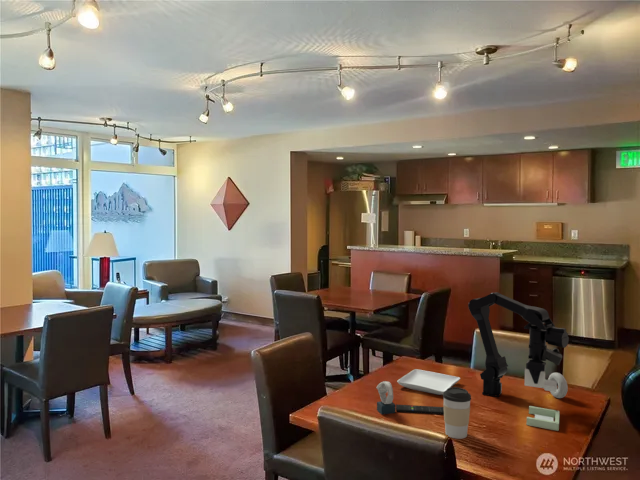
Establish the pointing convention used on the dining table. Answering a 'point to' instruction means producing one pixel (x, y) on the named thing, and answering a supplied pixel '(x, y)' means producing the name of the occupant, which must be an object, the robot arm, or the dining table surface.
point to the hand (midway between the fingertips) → (536, 382)
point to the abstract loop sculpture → (386, 403)
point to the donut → (559, 385)
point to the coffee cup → (456, 412)
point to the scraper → (540, 381)
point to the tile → (544, 417)
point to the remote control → (420, 409)
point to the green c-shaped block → (541, 422)
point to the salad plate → (428, 381)
